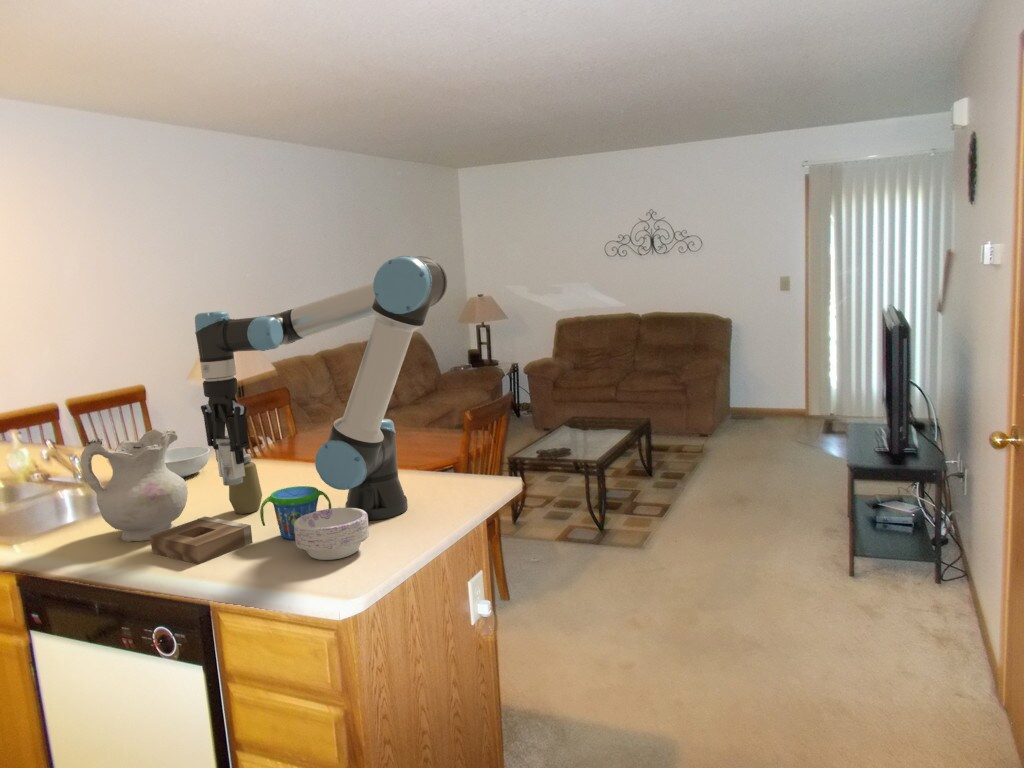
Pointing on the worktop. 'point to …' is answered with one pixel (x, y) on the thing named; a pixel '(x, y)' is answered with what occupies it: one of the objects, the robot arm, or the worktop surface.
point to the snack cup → (292, 506)
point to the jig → (201, 539)
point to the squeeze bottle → (246, 489)
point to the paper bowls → (331, 532)
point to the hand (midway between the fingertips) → (232, 476)
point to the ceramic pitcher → (137, 485)
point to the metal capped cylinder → (226, 461)
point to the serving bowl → (186, 459)
